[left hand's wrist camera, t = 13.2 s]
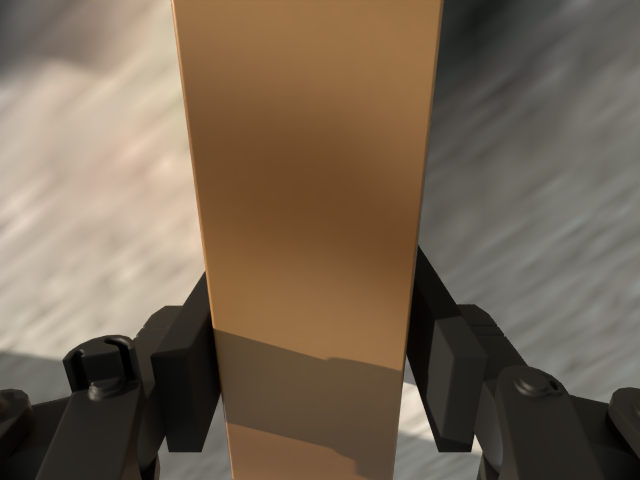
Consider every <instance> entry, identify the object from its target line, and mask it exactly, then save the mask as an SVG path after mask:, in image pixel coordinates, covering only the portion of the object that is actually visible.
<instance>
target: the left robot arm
mask: <svg viewBox="0 0 640 480" xmlns="http://www.w3.org/2000/svg"><path fill="white" fill-rule="evenodd" d="M406 354H407V357H408V360H409V363H410V366H411V369H412V373H413V376H414V379H415V382H416V385H417V388H418V391H419V394H420V397H421V400H422V403H423V406H424V409H425V412H426V415H427V418H428V421H429V424H430V427H431V430H432V433H433V436H434V439H435V442H436V445H437V448H438V452H471V450H472V445H473V440H474V435H476V437H477V440H478V442H479V444H480V446H481V448H482V451H483V452H482V457H481V461H480V466H479V471H478V476H477V480H640V389H638V388H631V387H628V388H620V389H618V390H617V391H615V392H614V393H613V395H612V398H611V400H610V403H609V404H608V403H603V402H599V401H594V400H590V399H585V398H581V397H576V396H573V395H569V394H568V392H567V390H566V389H565V388H564V386H563V385H562V383H560V382H559V381H558V380H557V379H555V378H554V377H553V376H551V375H550V374H547V373H545V372H543V371H541V370H539V369H536V368H532V367H529V366H528V365H527V364H526V363H525V361H524V360H523V359H522V357H521V356H520V355H519V353H518V352H517V351H516V349H515V348H514V347H513V345H512V344H511V343H510V341H509V340H508V339H507V337H506V336H504V334H503V332H502V331H501V330H500V328H499V327H497V324H496V323H495V322H494V320H493V319H492V318H491V316H490V315H489V314H488V313H487V312H485V311H484V310H482V309H481V308H479V307H478V306H476V305H475V304H456V303H455V302H454V300H453V298H452V297H451V295H450V294H449V292H448V291H447V289H446V287H445V286H444V284H443V283H442V281H441V280H440V278H439V277H438V275H437V273H436V272H435V270H434V269H433V267H432V266H431V264H430V262H429V261H428V259H427V258H426V256H425V255H424V253H423V252H422V250H421V248H420V247H419V245H418V248H417V257H416V266H415V276H414V285H413V294H412V304H411V313H410V322H409V332H408V341H407V351H406ZM63 364H64V367H65V370H66V374H67V377H68V380H69V384H70V387H71V390H72V394H71V396H69V397H66V398H62V399H58V400H53V401H49V402H44V403H40V404H35V405H31V403H30V400H29V397H28V395H27V394H26V393H24V392H23V391H22V390H15V389H7V390H1V391H0V480H159V475H160V462H159V457H158V450H159V448H160V446H161V444H162V442H163V439H164V437H165V435H166V440H167V445H168V450H169V452H202V449H203V445H204V442H205V439H206V436H207V433H208V430H209V427H210V424H211V421H212V418H213V415H214V412H215V409H216V406H217V403H218V400H219V397H220V394H221V386H220V379H219V371H218V363H217V355H216V347H215V340H214V332H213V324H212V316H211V309H210V301H209V293H208V285H207V278H206V270H205V272H204V273H203V275H202V277H201V278H200V280H199V281H198V283H197V284H196V286H195V287H194V289H193V291H192V292H191V294H190V295H189V297H188V298H187V300H186V302H185V303H184V305H183V306H164V307H163V308H162V309H160V310H159V311H157V312H156V313H154V314H153V315H151V317H150V318H149V319H148V321H147V322H146V323H145V325H144V326H143V328H142V329H141V330H140V331H139V333H138V334H137V335H136V338H134V339H133V340H132V339H130V338H129V337H126V336H122V335H106V336H102V337H98V338H94V339H91V340H89V341H87V342H84V343H82V344H80V345H78V346H77V347H75V348H74V349H73V350H71V351H70V352H69V353H68V354H67V355H66V356H65V357H64V359H63Z"/></svg>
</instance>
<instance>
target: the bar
mask: <svg viewBox="0 0 640 480" xmlns="http://www.w3.org/2000/svg"><path fill="white" fill-rule="evenodd" d="M443 5H444V0H171V6H172V13H173V21H174V29H175V37H176V44H177V52H178V60H179V68H180V76H181V83H182V91H183V99H184V107H185V114H186V122H187V130H188V138H189V145H190V153H191V161H192V169H193V177H194V184H195V192H196V200H197V208H198V215H199V223H200V231H201V239H202V246H203V254H204V262H205V270H206V278H207V285H208V293H209V301H210V309H211V316H212V324H213V332H214V340H215V347H216V355H217V363H218V371H219V379H220V386H221V394H222V402H223V410H224V417H225V425H226V433H227V441H228V448H229V456H230V464H231V472H232V480H393V472H394V463H395V453H396V444H397V435H398V425H399V416H400V407H401V397H402V388H403V379H404V369H405V360H406V351H407V341H408V332H409V322H410V313H411V304H412V294H413V285H414V276H415V266H416V257H417V248H418V238H419V229H420V220H421V210H422V201H423V192H424V182H425V173H426V164H427V154H428V145H429V136H430V126H431V117H432V108H433V98H434V89H435V80H436V70H437V61H438V52H439V42H440V33H441V23H442V14H443Z"/></svg>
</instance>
